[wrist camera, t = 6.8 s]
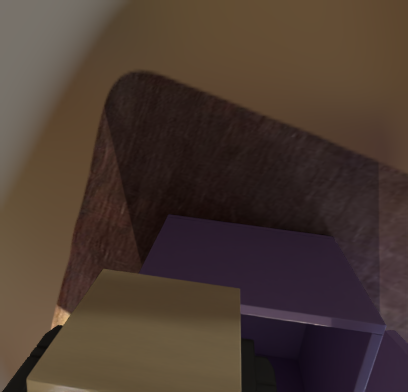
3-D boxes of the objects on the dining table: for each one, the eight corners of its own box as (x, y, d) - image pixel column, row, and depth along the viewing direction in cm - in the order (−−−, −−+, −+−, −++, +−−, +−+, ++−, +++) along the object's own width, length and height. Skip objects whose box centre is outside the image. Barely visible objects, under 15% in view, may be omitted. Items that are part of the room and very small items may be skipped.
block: (102, 268, 13) (25, 378, 8) (240, 287, 13) (242, 413, 8) (101, 375, 14) (35, 519, 10) (222, 394, 14) (215, 552, 10)
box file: (158, 338, 44) (122, 455, 30) (168, 213, 38) (130, 288, 25) (302, 360, 43) (331, 491, 29) (332, 236, 37) (387, 325, 24)
